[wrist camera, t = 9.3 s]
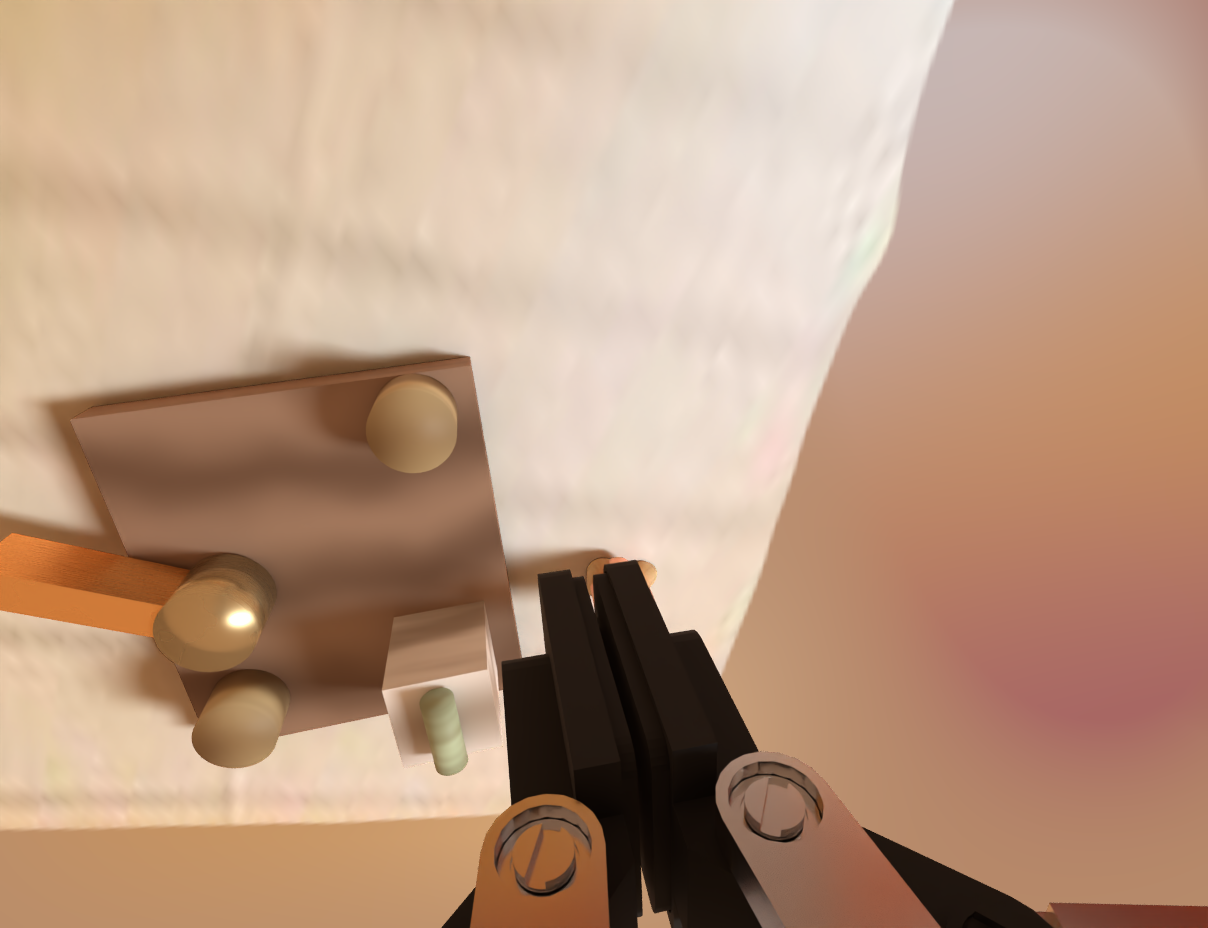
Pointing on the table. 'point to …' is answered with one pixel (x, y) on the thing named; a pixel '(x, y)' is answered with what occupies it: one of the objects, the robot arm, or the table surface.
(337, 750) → the table surface
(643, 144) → the table surface
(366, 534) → the base
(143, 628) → the orange lever bar
